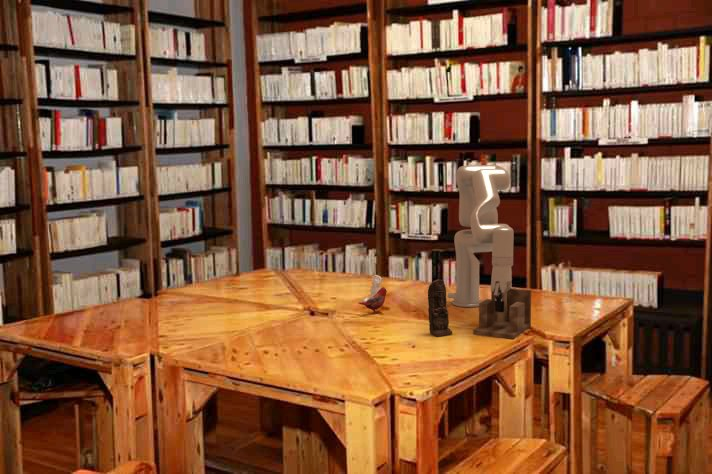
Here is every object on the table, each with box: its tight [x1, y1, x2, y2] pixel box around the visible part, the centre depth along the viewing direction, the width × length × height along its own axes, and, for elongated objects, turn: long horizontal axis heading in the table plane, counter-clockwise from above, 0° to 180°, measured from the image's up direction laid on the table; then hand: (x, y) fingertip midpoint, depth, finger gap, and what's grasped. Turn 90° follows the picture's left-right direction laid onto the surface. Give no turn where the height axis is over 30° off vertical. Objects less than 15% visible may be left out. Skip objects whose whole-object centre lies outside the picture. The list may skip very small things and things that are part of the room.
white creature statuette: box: [361, 274, 385, 302], centre depth 343 cm, size 10×9×12 cm
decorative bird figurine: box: [357, 286, 388, 315], centre depth 323 cm, size 3×18×10 cm, turn 137°
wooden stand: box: [472, 287, 532, 340], centre depth 295 cm, size 15×20×14 cm
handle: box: [497, 281, 511, 322], centre depth 294 cm, size 5×6×15 cm
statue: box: [427, 279, 453, 337], centre depth 291 cm, size 7×7×20 cm
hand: (501, 309), depth 294 cm, fingers closed on handle, 3 cm apart
